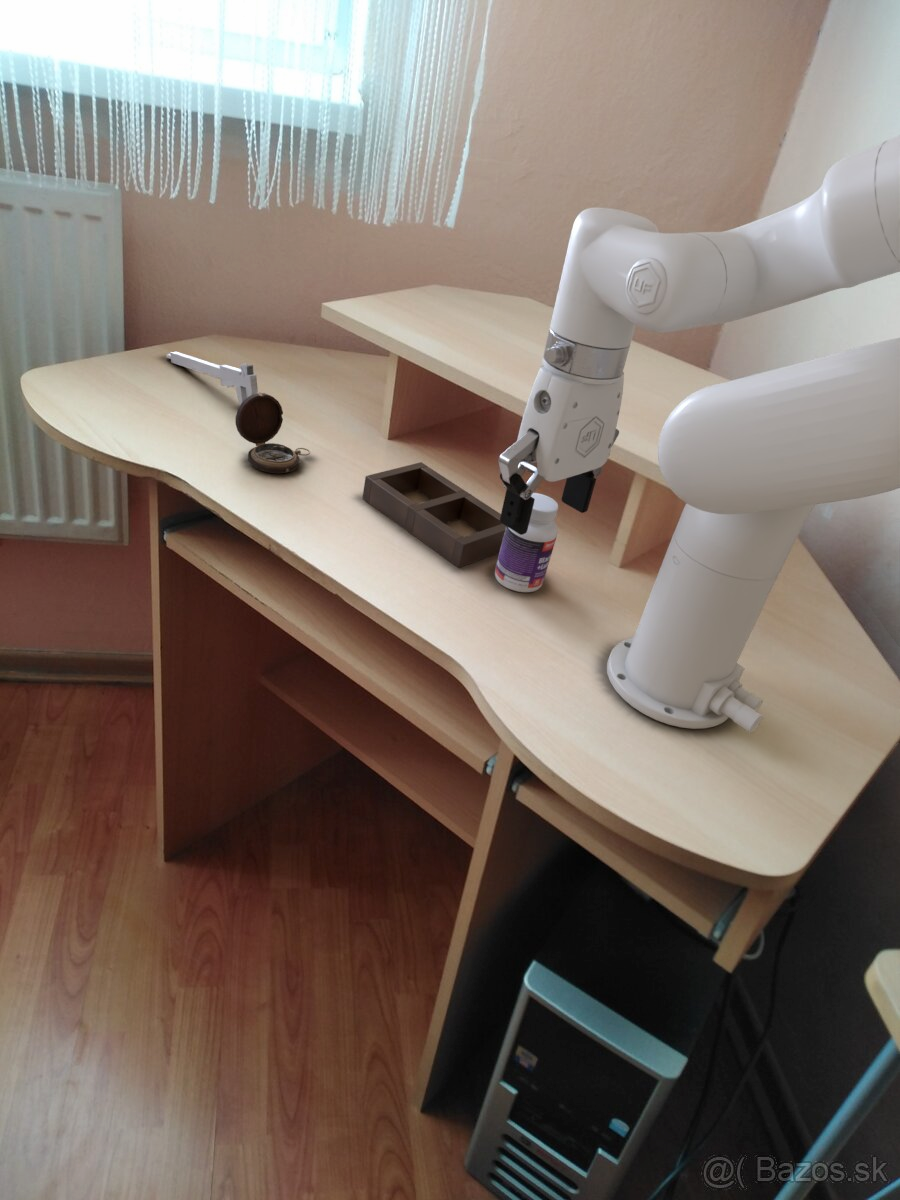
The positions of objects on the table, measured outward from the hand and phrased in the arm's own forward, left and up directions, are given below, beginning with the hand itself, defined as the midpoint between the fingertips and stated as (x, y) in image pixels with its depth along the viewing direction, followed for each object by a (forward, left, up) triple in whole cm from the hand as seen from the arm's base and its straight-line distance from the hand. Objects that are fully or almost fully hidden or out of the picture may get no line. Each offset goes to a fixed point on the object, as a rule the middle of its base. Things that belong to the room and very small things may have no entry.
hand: (544, 517), depth 91 cm
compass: (+35, +8, -9) cm, 37 cm away
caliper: (+57, +4, -9) cm, 58 cm away
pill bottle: (+1, 0, -9) cm, 9 cm away
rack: (+14, 0, -9) cm, 17 cm away
